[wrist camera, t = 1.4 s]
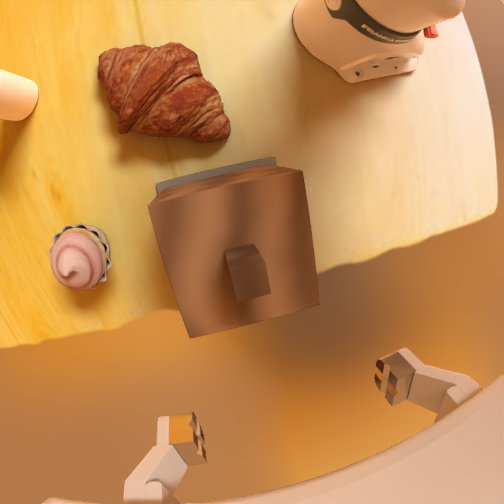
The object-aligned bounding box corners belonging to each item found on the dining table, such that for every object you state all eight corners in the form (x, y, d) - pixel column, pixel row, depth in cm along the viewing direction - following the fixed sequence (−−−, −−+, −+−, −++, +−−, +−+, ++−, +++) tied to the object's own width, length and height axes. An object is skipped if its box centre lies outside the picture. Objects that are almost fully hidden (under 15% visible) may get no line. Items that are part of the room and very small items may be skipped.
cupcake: (78, 284, 40) (54, 317, 30) (54, 228, 36) (21, 249, 27) (130, 266, 40) (113, 298, 31) (106, 205, 37) (80, 222, 28)
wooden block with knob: (269, 164, 39) (324, 175, 22) (285, 261, 44) (338, 329, 27) (163, 188, 37) (136, 218, 20) (190, 285, 42) (190, 369, 25)
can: (25, 127, 30) (-23, 125, 19) (2, 112, 28) (-46, 107, 17) (46, 88, 29) (3, 73, 18) (22, 74, 27) (-22, 59, 16)
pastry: (221, 37, 32) (227, 13, 25) (230, 140, 38) (238, 137, 30) (101, 56, 30) (82, 38, 23) (107, 159, 35) (87, 161, 28)
